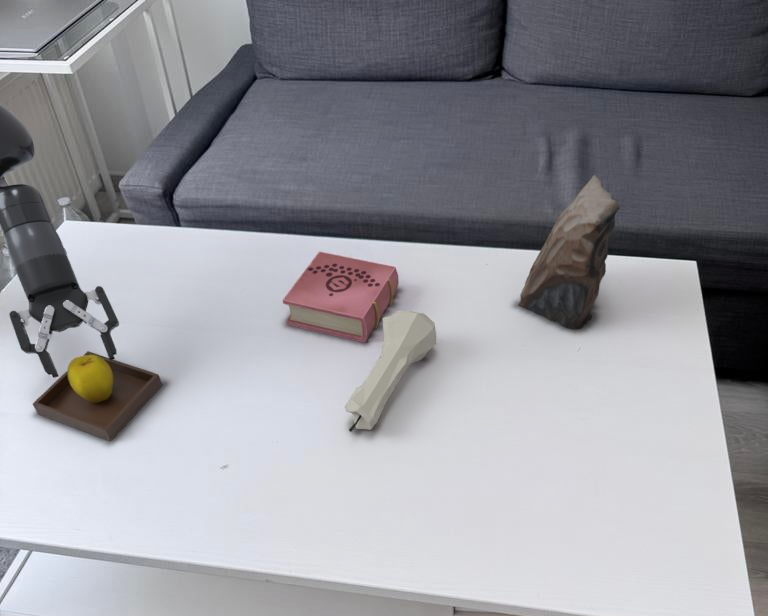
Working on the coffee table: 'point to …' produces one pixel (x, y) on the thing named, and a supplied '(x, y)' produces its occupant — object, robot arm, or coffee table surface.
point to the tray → (104, 416)
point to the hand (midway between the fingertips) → (84, 367)
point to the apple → (91, 378)
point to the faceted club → (391, 364)
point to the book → (341, 296)
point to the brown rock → (573, 259)
